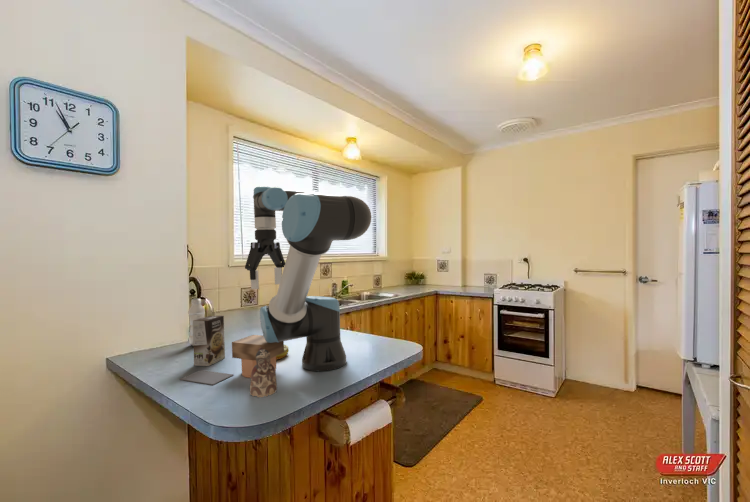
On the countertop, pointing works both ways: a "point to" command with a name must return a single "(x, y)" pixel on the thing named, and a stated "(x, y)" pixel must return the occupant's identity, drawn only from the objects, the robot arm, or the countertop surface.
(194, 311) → the plastic bottle
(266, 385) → the figurine
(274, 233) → the robot arm
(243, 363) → the bowl
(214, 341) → the coffee box
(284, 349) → the decorated donut
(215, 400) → the countertop surface
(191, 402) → the countertop surface
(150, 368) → the countertop surface
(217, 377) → the mat
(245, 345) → the brown wooden block
